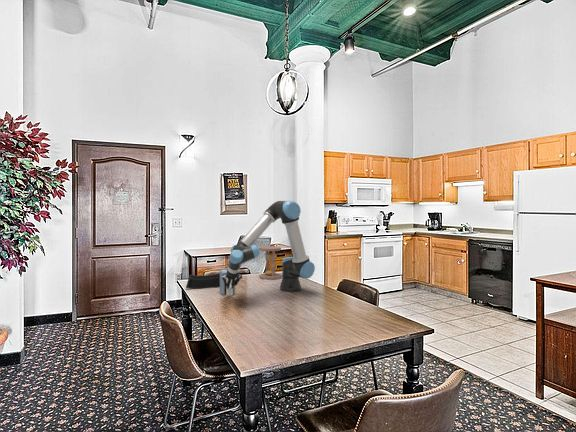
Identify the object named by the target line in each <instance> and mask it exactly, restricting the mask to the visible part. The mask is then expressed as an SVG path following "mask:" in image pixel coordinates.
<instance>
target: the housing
mask: <svg viewBox="0 0 576 432" xmlns="http://www.w3.org/2000/svg"><path fill="white" fill-rule="evenodd" d="M227 269H228V268H227ZM227 269H226V268H225V269H224V268H223V269H219V273H220V287H219V291H220V293H221V294H222V296H225V295H226V294H225V284H224V280H223V279H222V275H226V273H227ZM233 295H236V286H235V285H234V287H233Z"/></svg>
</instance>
